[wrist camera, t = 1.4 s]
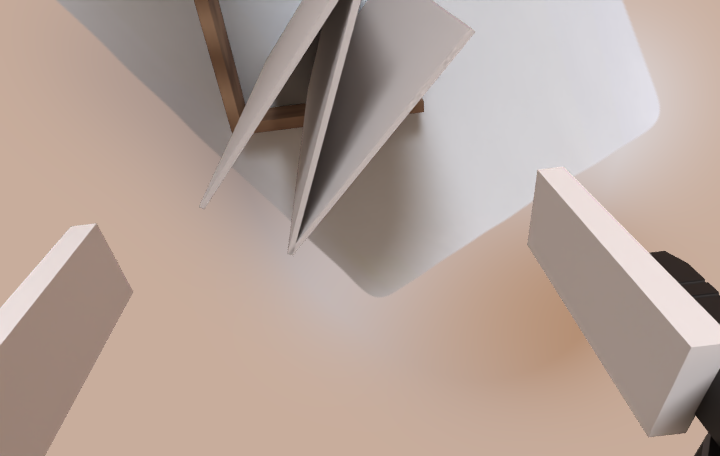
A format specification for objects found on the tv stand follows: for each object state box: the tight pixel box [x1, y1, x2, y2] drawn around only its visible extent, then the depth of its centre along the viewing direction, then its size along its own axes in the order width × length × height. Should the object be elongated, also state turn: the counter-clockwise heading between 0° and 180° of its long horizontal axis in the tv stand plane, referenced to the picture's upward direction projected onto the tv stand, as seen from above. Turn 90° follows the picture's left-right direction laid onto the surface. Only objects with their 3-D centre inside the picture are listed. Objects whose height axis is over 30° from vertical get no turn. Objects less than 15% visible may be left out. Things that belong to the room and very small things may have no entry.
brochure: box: [199, 0, 475, 255], centre depth 33 cm, size 14×6×30 cm, turn 143°
